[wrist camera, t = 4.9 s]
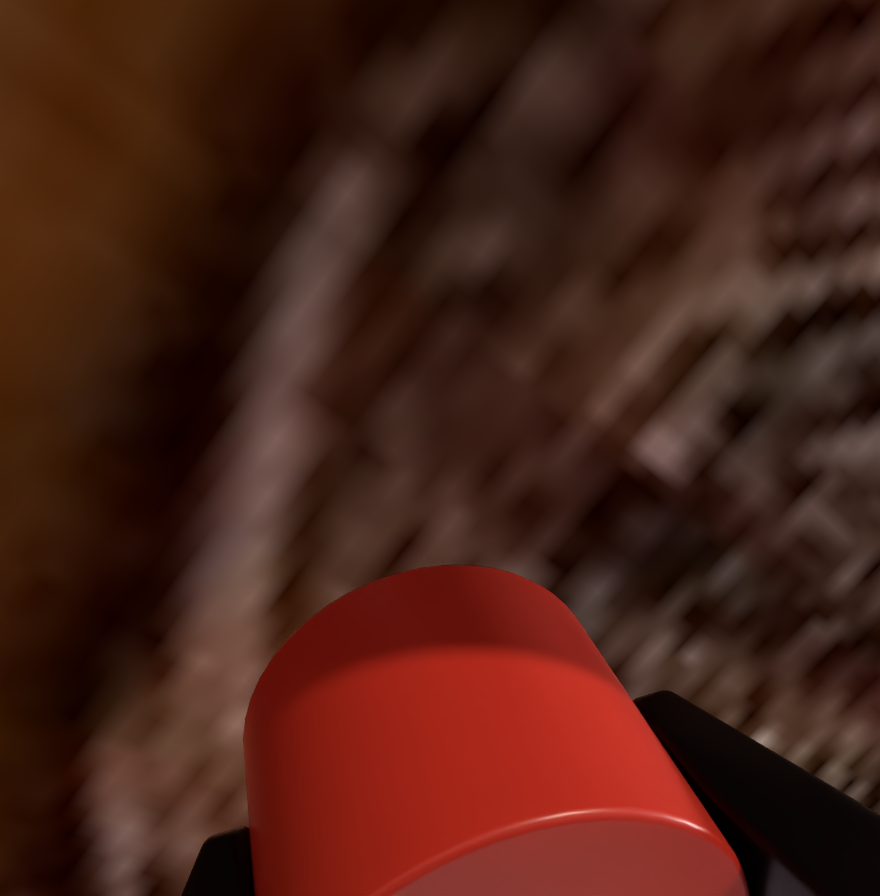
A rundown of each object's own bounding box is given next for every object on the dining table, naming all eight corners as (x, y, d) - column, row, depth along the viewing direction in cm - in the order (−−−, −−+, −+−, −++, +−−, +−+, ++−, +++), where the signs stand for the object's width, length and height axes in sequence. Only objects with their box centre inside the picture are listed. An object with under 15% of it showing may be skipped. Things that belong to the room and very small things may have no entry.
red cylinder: (580, 518, 9) (765, 745, 6) (599, 779, 10) (744, 1043, 8) (197, 626, 8) (198, 938, 5) (290, 883, 10) (327, 1214, 7)
